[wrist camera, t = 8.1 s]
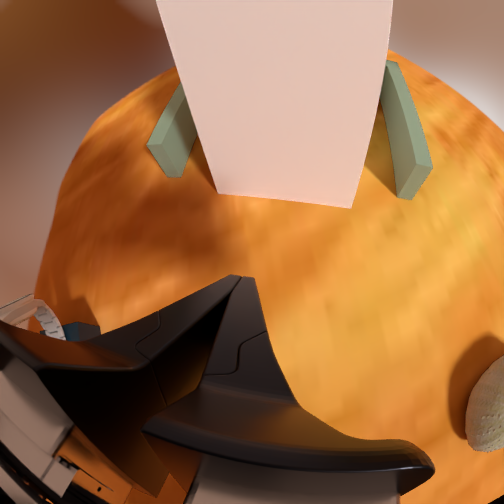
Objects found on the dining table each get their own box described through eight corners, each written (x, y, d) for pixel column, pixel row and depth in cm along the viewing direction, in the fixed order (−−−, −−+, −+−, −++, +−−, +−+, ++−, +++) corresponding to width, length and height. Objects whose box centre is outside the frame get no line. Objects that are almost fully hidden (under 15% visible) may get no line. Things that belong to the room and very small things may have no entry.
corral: (411, 199, 21) (506, 14, 3) (131, 177, 26) (26, 39, 8) (389, 93, 26) (413, -39, 8) (178, 84, 31) (132, -29, 13)
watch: (97, 305, 22) (2, 270, 11) (112, 393, 19) (11, 402, 8) (59, 316, 22) (-27, 289, 11) (71, 395, 19) (-20, 396, 9)
